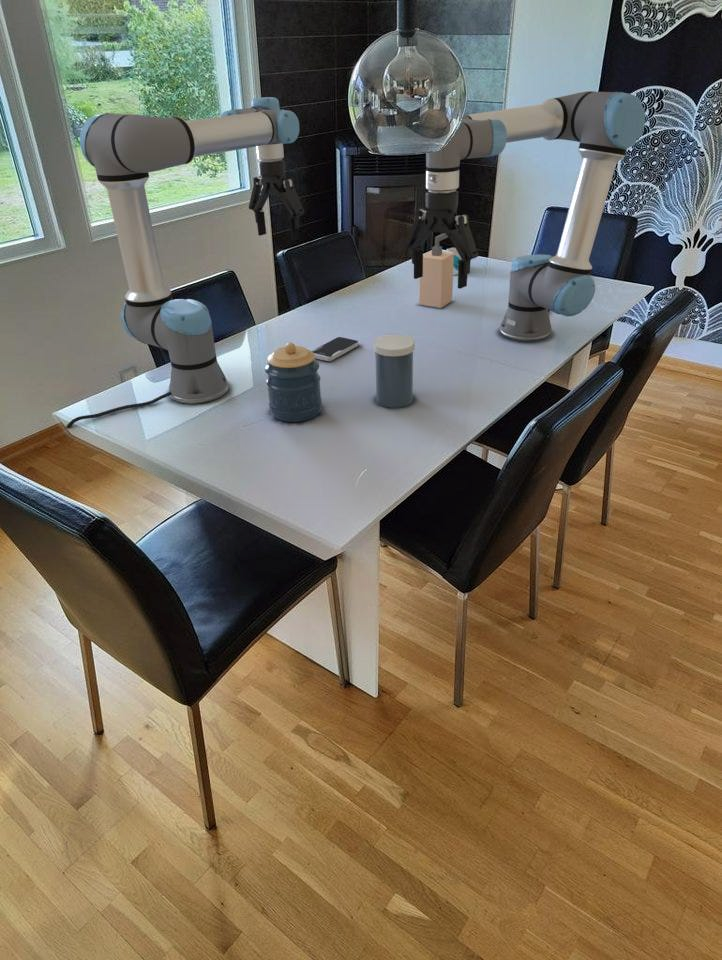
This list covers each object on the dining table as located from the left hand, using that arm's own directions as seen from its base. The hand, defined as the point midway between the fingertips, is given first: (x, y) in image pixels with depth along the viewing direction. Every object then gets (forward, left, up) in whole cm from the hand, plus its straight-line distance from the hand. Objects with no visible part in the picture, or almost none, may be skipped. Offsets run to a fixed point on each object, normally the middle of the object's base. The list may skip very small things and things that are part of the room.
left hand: (278, 237), depth 202 cm
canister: (-44, -43, -28) cm, 67 cm away
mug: (+83, -15, -28) cm, 89 cm away
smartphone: (-8, -26, -28) cm, 39 cm away
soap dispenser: (+47, -28, -28) cm, 61 cm away
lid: (-25, -59, -13) cm, 66 cm away
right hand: (-8, -62, -2) cm, 62 cm away
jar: (-25, -59, -28) cm, 70 cm away
